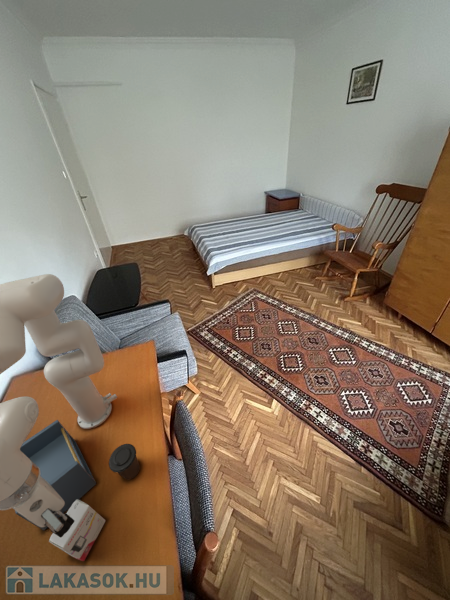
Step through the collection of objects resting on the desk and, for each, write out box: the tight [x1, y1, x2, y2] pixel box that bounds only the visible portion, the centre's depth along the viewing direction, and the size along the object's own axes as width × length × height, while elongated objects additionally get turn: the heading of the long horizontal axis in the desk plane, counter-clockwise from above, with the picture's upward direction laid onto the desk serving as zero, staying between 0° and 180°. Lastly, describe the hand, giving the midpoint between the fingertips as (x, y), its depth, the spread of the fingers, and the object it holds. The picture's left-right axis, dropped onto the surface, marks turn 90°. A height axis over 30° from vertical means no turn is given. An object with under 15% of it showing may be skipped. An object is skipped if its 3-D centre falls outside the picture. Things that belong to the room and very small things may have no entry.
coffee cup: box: [108, 443, 141, 481], centre depth 76 cm, size 8×8×10 cm
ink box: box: [48, 499, 106, 562], centre depth 62 cm, size 9×5×12 cm, turn 162°
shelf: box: [14, 419, 97, 531], centre depth 74 cm, size 15×20×14 cm
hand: (56, 514), depth 55 cm, fingers open, 9 cm apart
